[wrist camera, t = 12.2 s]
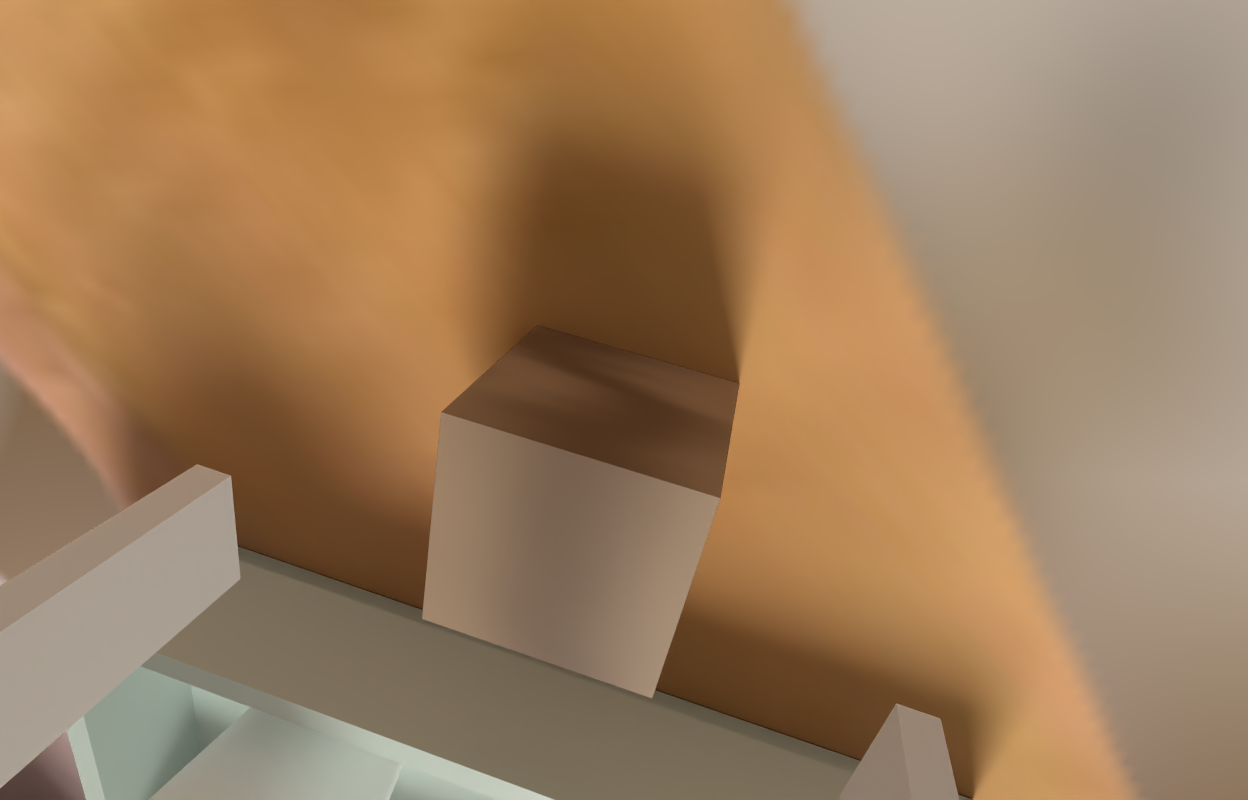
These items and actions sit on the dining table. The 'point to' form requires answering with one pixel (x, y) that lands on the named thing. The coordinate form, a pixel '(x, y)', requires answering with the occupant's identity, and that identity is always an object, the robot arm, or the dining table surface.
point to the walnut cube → (576, 504)
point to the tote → (424, 708)
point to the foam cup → (281, 766)
